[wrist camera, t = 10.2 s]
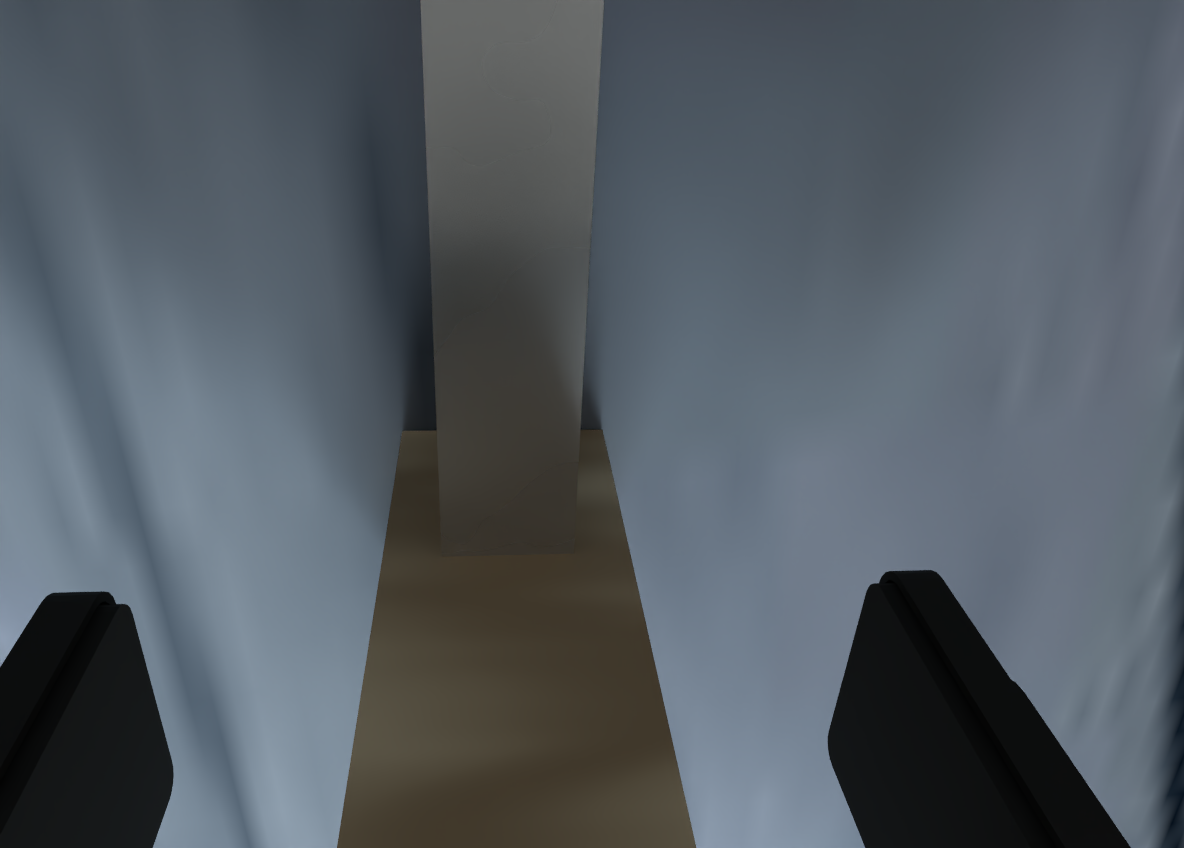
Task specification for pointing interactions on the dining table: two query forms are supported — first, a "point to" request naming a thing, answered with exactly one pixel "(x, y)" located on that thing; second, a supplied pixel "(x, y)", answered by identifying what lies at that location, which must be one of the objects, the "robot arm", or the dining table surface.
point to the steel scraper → (510, 488)
